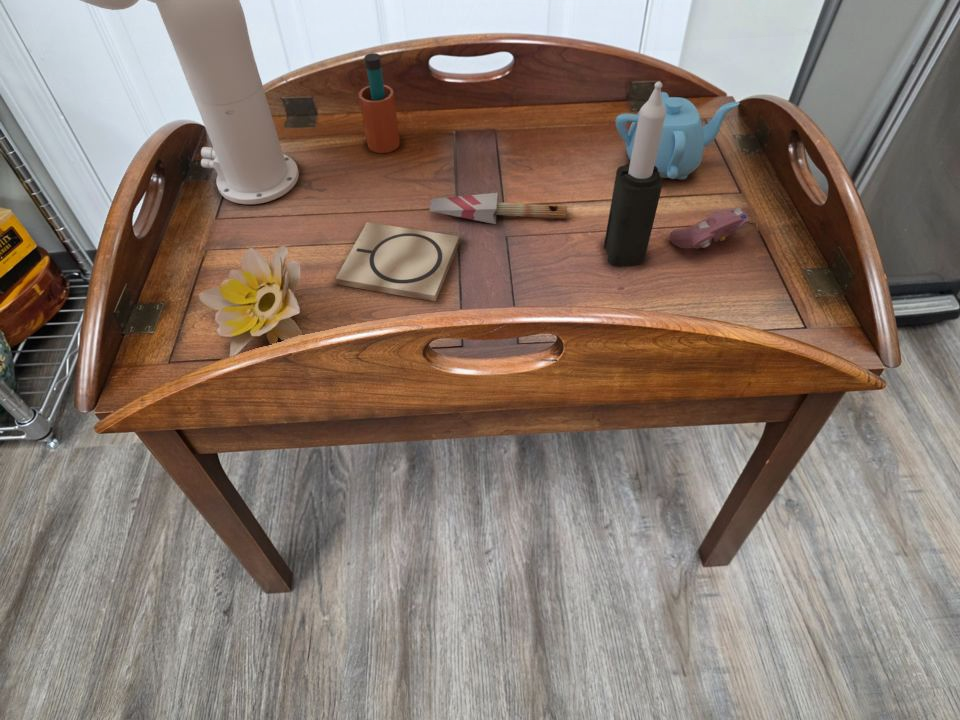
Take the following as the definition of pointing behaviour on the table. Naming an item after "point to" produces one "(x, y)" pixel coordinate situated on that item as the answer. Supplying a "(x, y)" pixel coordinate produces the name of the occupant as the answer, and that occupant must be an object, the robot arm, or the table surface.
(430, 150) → the table surface
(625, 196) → the candle
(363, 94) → the pen cup
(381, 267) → the sketch board
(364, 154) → the table surface
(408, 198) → the table surface
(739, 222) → the purple toy car
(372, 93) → the marker
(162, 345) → the table surface
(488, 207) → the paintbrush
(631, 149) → the teapot
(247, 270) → the decorative flower
